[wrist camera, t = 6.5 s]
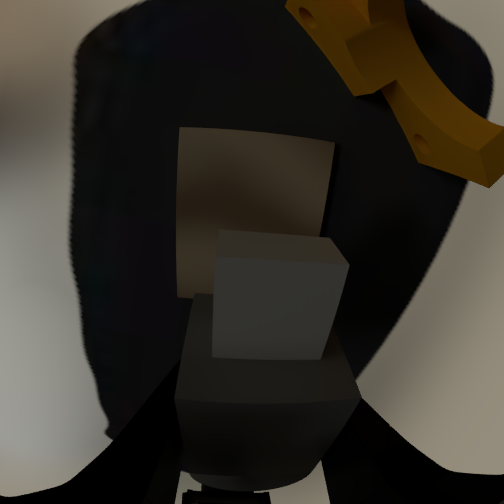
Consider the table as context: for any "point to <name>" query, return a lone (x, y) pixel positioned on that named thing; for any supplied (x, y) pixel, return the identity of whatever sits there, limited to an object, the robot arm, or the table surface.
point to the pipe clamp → (403, 83)
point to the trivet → (243, 193)
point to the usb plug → (264, 363)
